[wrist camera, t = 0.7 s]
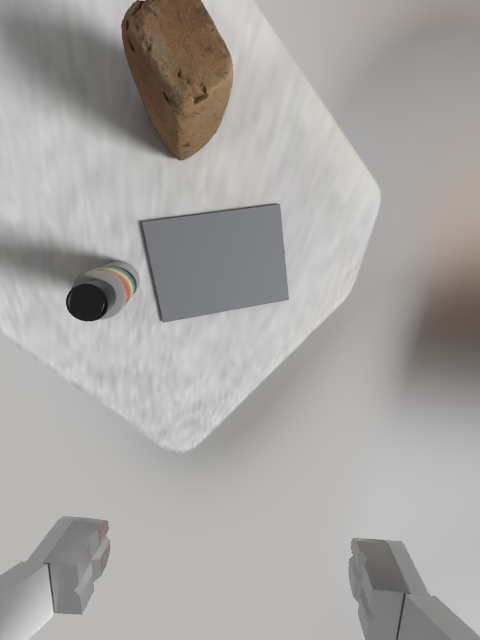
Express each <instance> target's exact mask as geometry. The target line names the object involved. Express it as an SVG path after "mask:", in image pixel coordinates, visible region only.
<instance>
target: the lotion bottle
mask: <svg viewBox="0 0 480 640" xmlns="http://www.w3.org/2000/svg"><path fill="white" fill-rule="evenodd" d="M138 286H139V275H138V272H137V271H136V269H135V268H134V267H133V266H132V265H130V264H128V263H126V262H122V261H116V262H112V263H109V264H106V265H103V266H100V267H97V268H94V269H91V270H88V271H86V272H84V273H82V274H81V275H80V276H79V277H78V278H77V279H76V280H75V282H74V284H73V286H72V289H71V291H70V292H69V293H68V295H67V299H66V306H67V309H68V311H69V312H70V314H71V315H73V316H74V317H75V318H77V319H79V320H82V321H95V320H98V319H107V318H110V317H113V316H115V315H116V314H117V313H119V312H120V311H121V310H122V308H123V307H124V306H125V305H126V303H127V302H128V301H129V299H130V298H131V297H132V296H133V294H134V293H135V292H136V290H137V288H138Z"/></svg>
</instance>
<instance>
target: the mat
mask: <svg viewBox="0 0 480 640" xmlns="http://www.w3.org/2000/svg"><path fill="white" fill-rule="evenodd" d="M142 225H143V230H144V235H145V239H146V244H147V249H148V253H149V258H150V263H151V267H152V272H153V277H154V281H155V286H156V291H157V295H158V300H159V305H160V309H161V314H162V319H163V322H169V321H174V320H180V319H185V318H191V317H196V316H201V315H207V314H212V313H218V312H223V311H229V310H234V309H240V308H245V307H251V306H256V305H262V304H267V303H273V302H278V301H284V300H289V297H288V286H287V275H286V264H285V254H284V243H283V232H282V222H281V211H280V204H277V205H270V206H262V207H254V208H246V209H239V210H231V211H223V212H215V213H208V214H200V215H192V216H184V217H177V218H169V219H161V220H153V221H146V222H142Z"/></svg>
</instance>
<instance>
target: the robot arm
mask: <svg viewBox="0 0 480 640" xmlns="http://www.w3.org/2000/svg"><path fill="white" fill-rule="evenodd" d="M108 530H109V528H108V521H106V520H100V519H90V518H80V517H68V516H63V517H61V518H60V519H59V520H58V521H57V522H56V523H55V525H54V526H53V527H52V529H51V530H50V531H49V532H48V534H47V535H46V537H45V538H44V539H43V540H42V542H41V543H40V544H39V546H38V547H37V548H36V549H35V551H34V552H33V553H32V555H31V556H30V557H29V559H28V560H27V561H26V562H20V563H19V564H17V565H16V566H14V567H13V568H11V569H9V570H8V571H6V572H5V573H3V574H2V575H0V640H28V639H30V638H31V637H32V636H33V635H34V634H35V633H36V632H37V631H38V630H39V629H40V628H41V627H42V626H43V625H44V624H45V623H46V622H47V621H48V620H49V619H50V618H51V617H52V616H53V615H54V613H64V614H82V613H83V611H84V609H85V607H86V605H87V603H88V601H89V599H90V597H91V595H92V593H93V591H94V585H93V582H94V581H95V580H96V579H98V578H99V577H100V576H101V575H102V573H103V571H104V569H105V567H106V564H107V561H108V557H109V552H110V541H109V539H108V538H107V537H106V534H107V532H108ZM351 550H352V554H353V556H352V557H351V558H350V559H349V580H350V585H351V590H352V594H353V597H354V598H355V599H356V600H357V601H358V603H359V610H358V615H359V619H360V622H361V626H362V630H363V633H364V636H365V640H480V636H478V635H477V634H476V633H475V632H474V631H473V630H472V629H471V628H470V627H469V626H467V625H466V624H465V623H464V622H463V621H462V620H461V619H460V618H459V617H458V616H456V615H455V614H454V613H453V612H452V611H451V610H450V609H449V608H448V607H447V606H446V605H445V604H443V603H442V602H441V601H440V600H439V599H438V598H437V597H436V596H430V594H429V592H428V591H427V588H426V586H425V584H424V582H423V580H422V578H421V576H420V574H419V573H418V571H417V569H416V567H415V565H414V563H413V561H412V559H411V557H410V555H409V553H408V552H407V549H406V547H405V545H404V544H403V543H402V542H401V541H390V540H385V541H384V540H376V539H359V538H353V540H352V542H351Z"/></svg>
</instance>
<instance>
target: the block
mask: <svg viewBox="0 0 480 640" xmlns="http://www.w3.org/2000/svg"><path fill="white" fill-rule="evenodd" d="M121 27H122V39H123V44H124V49H125V54H126V58H127V61H128V64H129V67H130V70H131V73H132V76H133V78H134V81H135V83H136V86H137V88H138V91H139V94H140V96H141V99H142V101H143V104H144V106H145V109H146V111H147V113H148V116H149V118H150V120H151V122H152V124H153V126H154V128H155V130H156V132H157V134H158V135H159V137H160V139H161V140H162V142H163V143H164V145H165V146H166V148H167V149H168V150H169V152H170V153H171V154H172V155H173V156H174V157H175V158H176V159H178V160H184V159H186V158H188V157H190V156H192V155H193V154H195V153H196V152H198V151H199V150H200V149H201V148H203V147H204V146H205V145H206V144H207V142H208V141H209V140H210V139H211V138H212V136H213V135H214V134H215V133H216V131H217V129H218V128H219V126H220V124H221V121H222V118H223V115H224V113H225V110H226V107H227V103H228V100H229V97H230V92H231V88H232V83H233V64H232V59H231V55H230V53H229V51H228V49H227V46H226V44H225V42H224V40H223V39H222V37H221V36H220V34H219V32H218V30H217V28H216V26H215V24H214V22H213V20H212V19H211V17H210V15H209V13H208V12H207V10H206V8H205V7H204V5H203V3H202V2H201V0H146V1H139V0H137V1H136V2H134V3H133V4H132V6H131V7H130V8H129V9H128V10H127V12H126V14H125V16H124V19H123V20H122V25H121Z"/></svg>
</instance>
